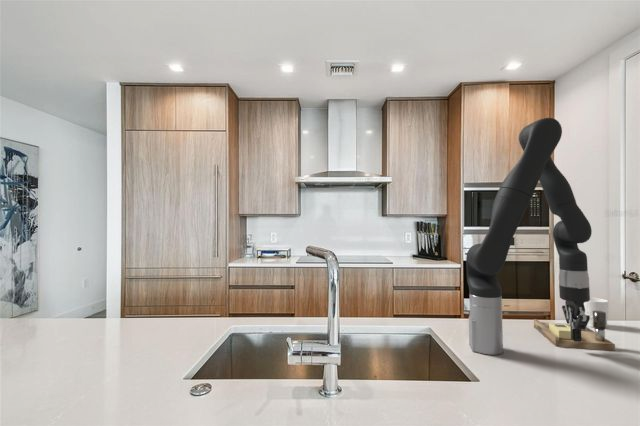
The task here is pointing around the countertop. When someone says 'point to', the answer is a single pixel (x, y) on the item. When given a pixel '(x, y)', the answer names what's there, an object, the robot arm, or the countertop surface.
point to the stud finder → (561, 330)
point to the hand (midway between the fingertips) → (576, 340)
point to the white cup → (595, 308)
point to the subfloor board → (586, 340)
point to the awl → (599, 325)
